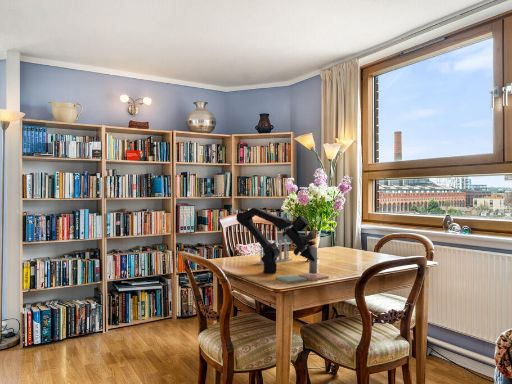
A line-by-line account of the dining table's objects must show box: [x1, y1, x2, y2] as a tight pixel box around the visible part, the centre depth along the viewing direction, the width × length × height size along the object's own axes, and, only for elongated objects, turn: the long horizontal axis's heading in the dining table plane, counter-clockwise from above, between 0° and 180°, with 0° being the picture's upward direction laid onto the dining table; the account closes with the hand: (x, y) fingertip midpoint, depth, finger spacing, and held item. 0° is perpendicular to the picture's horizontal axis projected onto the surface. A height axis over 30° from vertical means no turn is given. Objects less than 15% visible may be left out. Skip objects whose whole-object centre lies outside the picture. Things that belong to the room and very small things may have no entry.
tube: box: [308, 244, 318, 274], centre depth 204 cm, size 4×4×14 cm
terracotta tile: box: [297, 272, 330, 282], centre depth 204 cm, size 11×11×1 cm
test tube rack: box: [256, 239, 293, 266], centre depth 246 cm, size 25×4×13 cm, turn 129°
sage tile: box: [275, 274, 307, 284], centre depth 199 cm, size 11×11×1 cm
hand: (315, 260), depth 203 cm, fingers closed on tube, 4 cm apart
